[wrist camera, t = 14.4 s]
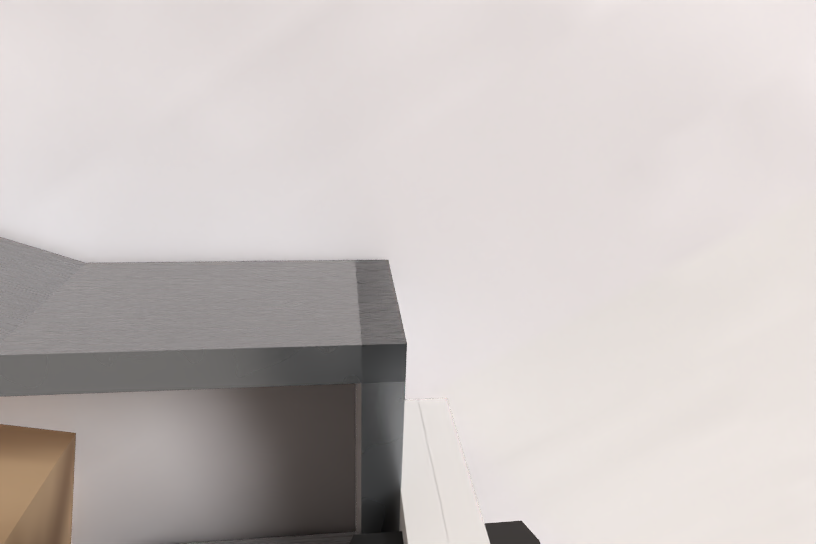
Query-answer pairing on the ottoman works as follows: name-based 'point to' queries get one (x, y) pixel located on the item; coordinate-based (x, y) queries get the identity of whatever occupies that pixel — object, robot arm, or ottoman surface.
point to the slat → (36, 485)
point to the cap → (217, 343)
